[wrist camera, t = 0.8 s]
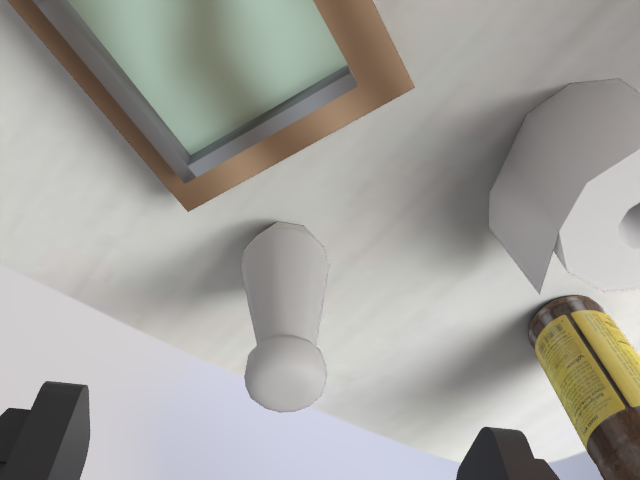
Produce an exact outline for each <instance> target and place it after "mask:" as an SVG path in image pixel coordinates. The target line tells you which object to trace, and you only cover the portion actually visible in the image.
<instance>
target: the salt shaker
mask: <svg viewBox="0 0 640 480" xmlns="http://www.w3.org/2000/svg"><path fill="white" fill-rule="evenodd" d="M328 270H329V263H328V259H327V256H326V252H325V249H324V246H323V245H322V244H321V243H320V242H319V241H318V240H317V239H316V238H315V237H314V236H313V235H312V234H311V233H310V232H309V231H308V230H307V229H306V228H305V227H304V226H303V225H296V224H290V223H284V222H278V221H277V222H276V223H274V224H273V225H272V226H270V227H269V228H268V229H266V230H264V231H263V232H261V233H260V234H258V235H257V236H256V237H255V238H254V239H253V240H252V241H251V242H250V243H249V244H248V246H247V247H246V248H245V249H244V252H243V257H242V263H241V273H242V277H243V282H244V286H245V291H246V296H247V300H248V305H249V309H250V314H251V319H252V323H253V328H254V332H255V337H256V342H257V346H256V347H255V348H254V349H253V350H252V351H251V352H250V354H249V356H248V360H247V365H246V371H245V384H246V388H247V390H248V393H249V395H250V397H251V399H253V400H254V401H256V402H257V403H259V404H260V405H261V406H263V407H264V408H266V409H269V410H273V411H277V412H294V411H297V410H300V409H303V408H306V407H308V406H310V405H311V404H312V403H313V402H314V401H316V400H317V399H318V398H319V397H320V396H321V395H322V392H323V389H324V387H325V384H326V377H327V371H326V364H325V362H324V359H323V356H322V353H321V351H320V349H319V348H317V347H316V343H317V337H318V331H319V325H320V319H321V313H322V307H323V301H324V295H325V289H326V283H327V277H328Z"/></svg>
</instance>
